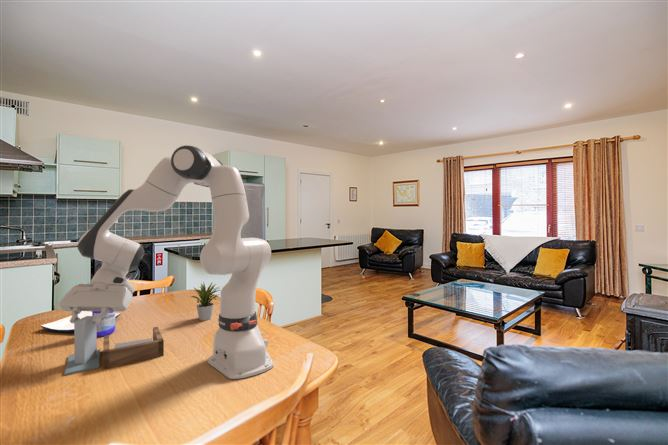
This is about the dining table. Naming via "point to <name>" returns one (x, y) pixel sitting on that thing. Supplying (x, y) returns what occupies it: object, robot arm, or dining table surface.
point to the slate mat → (76, 368)
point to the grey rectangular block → (85, 340)
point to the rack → (133, 351)
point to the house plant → (205, 301)
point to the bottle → (105, 323)
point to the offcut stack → (131, 343)
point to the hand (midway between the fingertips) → (83, 322)
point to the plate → (67, 323)
